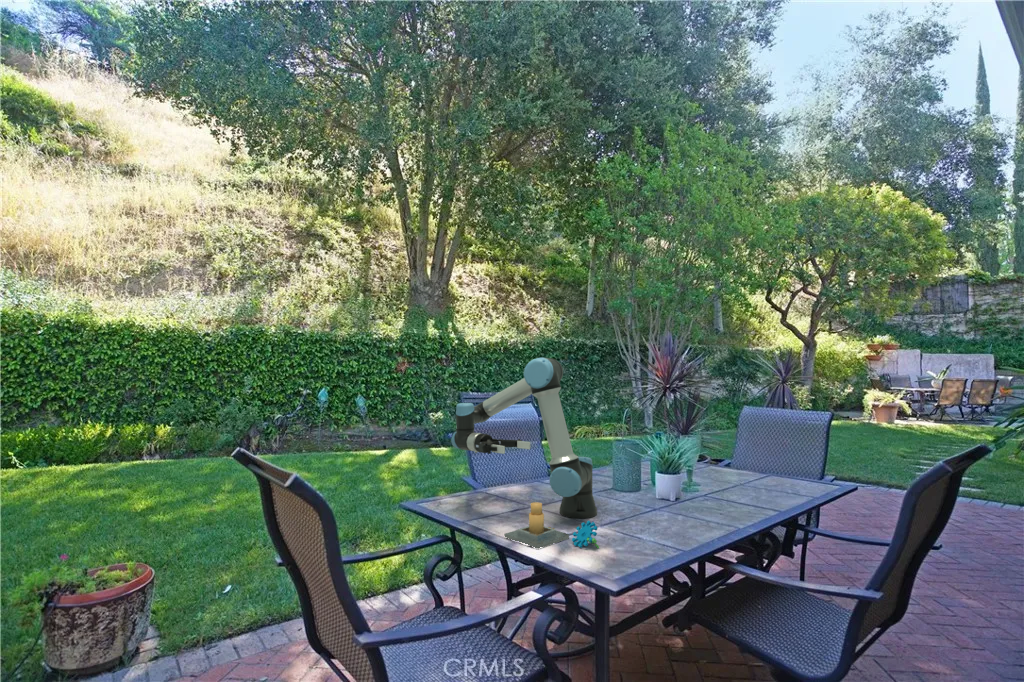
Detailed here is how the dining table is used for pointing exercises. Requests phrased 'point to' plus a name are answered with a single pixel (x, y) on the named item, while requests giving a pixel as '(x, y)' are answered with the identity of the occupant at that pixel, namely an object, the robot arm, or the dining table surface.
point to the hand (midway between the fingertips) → (517, 447)
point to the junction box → (537, 536)
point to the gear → (585, 535)
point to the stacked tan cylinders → (536, 518)
